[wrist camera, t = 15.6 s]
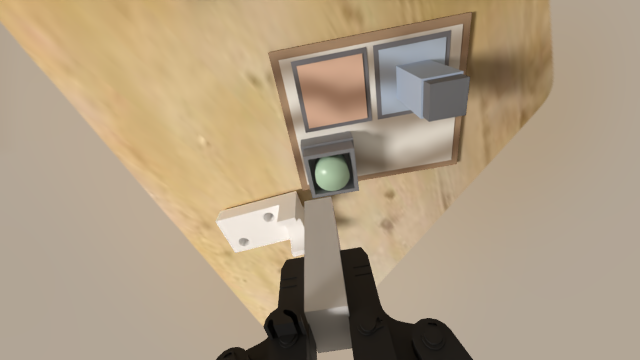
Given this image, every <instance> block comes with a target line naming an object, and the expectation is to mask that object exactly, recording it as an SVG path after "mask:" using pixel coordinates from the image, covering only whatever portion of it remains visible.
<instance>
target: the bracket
mask: <svg viewBox="0 0 640 360" xmlns="http://www.w3.org/2000/svg"><path fill="white" fill-rule="evenodd" d="M216 223H217V225H218V226H219V228H220V229H221V231H222V233H223V234H224V236H225V237H226V239H227V240H228V242H229V244H230V245H231V247H232V248H233V250H234V252H235V253H237V252H241V251H245V250H249V249H253V248H257V247H261V246H265V245H269V244H273V243H277V242H281V241H285V240H289V239H290V241H291V253H292V255H293V257H295V256H299V255H303V254H304V207H303V206H302V204H301V202H300V199H299V197H298V194H297V192H296V191H294V192H290V193H287V194H283V195H279V196H275V197H272V198H268V199H264V200H260V201H256V202H253V203H249V204H245V205H241V206H238V207H234V208H230V209H226V210H223V211H220V212H219V215H218V217H217V219H216Z"/></svg>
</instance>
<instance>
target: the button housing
mask: <svg viewBox="0 0 640 360" xmlns="http://www.w3.org/2000/svg"><path fill="white" fill-rule="evenodd" d="M301 151H302V156H303V160H304V164H305V169H306V173H307V177H308V182H309V186H310V190H311V194H312V198H318V197H324V196H330V195H335V194H341V193H347V192H353V191H359V187H358V176H357V168H356V159H355V151H354V142H353V137H352V134H351V132H350V131H346V132H341V133H335V134H330V135H324V136H319V137H313V138H308V139H302V140H301ZM338 154H341V155H343V156H344V158H345V160H346V163H347V166H348V170H349V174H350V177H349V181H348V183H347V184H346V185H345V186H344V187H343V188H341V189H339V190H336V191H328V190H324V189H322V188H321V187H320V186H319V185H318V184H317V182H316V178H315V162H316V159H317V158H321V157H327V156H332V155H338Z"/></svg>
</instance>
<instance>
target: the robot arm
mask: <svg viewBox="0 0 640 360" xmlns="http://www.w3.org/2000/svg"><path fill="white" fill-rule="evenodd" d="M264 329H265V331H266V333H267V335H268V338H267V339H266V340H264V341H263V342H261V343H260V344H258V345H256V346H254V347H252V348H250V349H248V350H246V351H245V350H244V349H242V348H240V347H235V348H230V349H228V350H226V351H224V352H223V353H222V354H221V355H220V356H219V357H218V358H217V359H216V360H317V352H316V351H318V353H321V352H329V351H335V350H342V349H350V348H352V350H353V357H354V360H473V359H472V358H471V356H470V355H469V354H468V352H467V351H466V350H465V348H464V347H463V346H462V344H461V343H460V342H459V340H458V339H457V338H456V336H455V335H454V334H453V332H452V331H451V330H450V329H449V328H448V327H447V326H446V325H445V324H444V323H442V322H440V321H438V320H437V319H431V318H426V319H421V320H419V321H418V322H417V323H415V324H410V323H405V322H400V321H397V320H395V319H393V318H391V317H389V316H388V315H387V314H386V313H385V312H384V310H383V309H382V306H381V304H380V300H379V296H378V293H377V289H376V285H375V281H374V278H373V274H372V270H371V266H370V262H369V259H368V255H367V254H366V253H365V251H364V250H363V249H362V248H361V247H359V248H353V249H347V250H341V249H340V243H339V236H338V230H337V225H336V220H335V214H334V209H333V203H332V198H331V197H326V198H320V199H314V200H309V201H304V257H301V258H295V259H289V260H286V262H285V264H284V266H283V267H282V269H281V281H280V291H279V301H278V308H277V309H276V310H274V311H273V312H272V313H270V315H269V316H268V317H267V319H266V321H265V324H264Z"/></svg>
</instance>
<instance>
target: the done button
mask: <svg viewBox="0 0 640 360" xmlns="http://www.w3.org/2000/svg"><path fill="white" fill-rule="evenodd" d="M349 177H350V174H349V170H348V166H347V163H346V160H345V158H344V156H343V155H341V154H338V155H332V156H327V157H321V158H317V159H316V162H315V178H316V182H317V184H318V185H319V186H320V187H321V188H322V189H324V190H328V191H336V190H339V189H341V188H343V187H344V186H345V185H346V184H347V183H348V181H349Z"/></svg>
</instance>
